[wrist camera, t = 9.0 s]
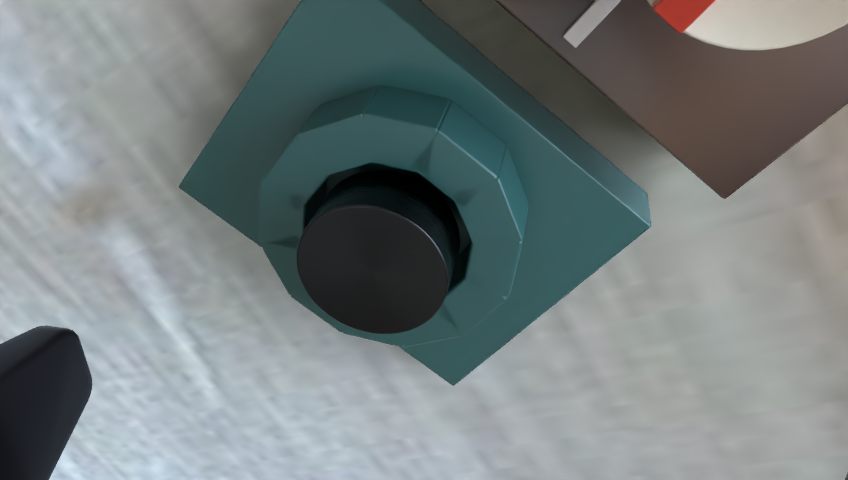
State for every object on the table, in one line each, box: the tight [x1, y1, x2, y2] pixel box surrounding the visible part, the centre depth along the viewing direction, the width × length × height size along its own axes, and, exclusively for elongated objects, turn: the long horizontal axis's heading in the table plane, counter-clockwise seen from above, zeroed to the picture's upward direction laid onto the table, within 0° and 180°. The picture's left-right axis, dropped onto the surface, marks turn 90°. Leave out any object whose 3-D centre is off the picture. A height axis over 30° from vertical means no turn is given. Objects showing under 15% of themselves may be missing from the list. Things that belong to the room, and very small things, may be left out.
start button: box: [296, 170, 460, 334], centre depth 18 cm, size 4×4×2 cm
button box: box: [179, 0, 651, 386], centre depth 20 cm, size 10×8×4 cm
